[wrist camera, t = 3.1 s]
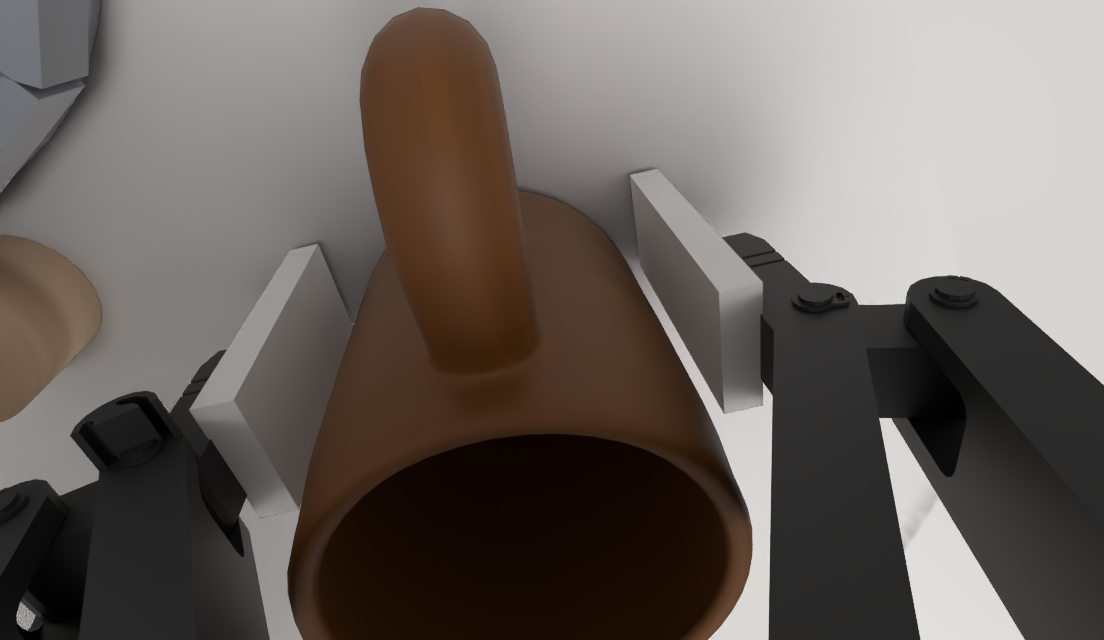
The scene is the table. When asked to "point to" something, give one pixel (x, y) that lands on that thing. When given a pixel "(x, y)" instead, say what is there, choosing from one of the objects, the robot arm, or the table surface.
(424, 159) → the mug
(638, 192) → the robot arm
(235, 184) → the table surface
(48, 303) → the bead
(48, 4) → the saucer
